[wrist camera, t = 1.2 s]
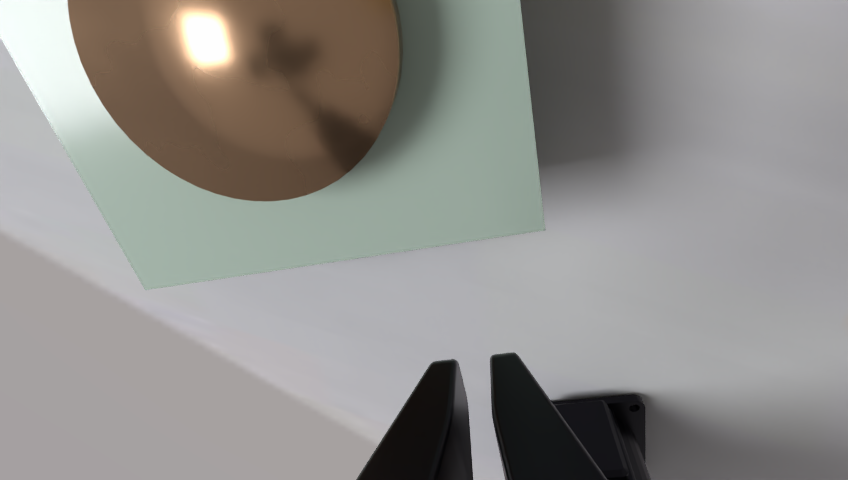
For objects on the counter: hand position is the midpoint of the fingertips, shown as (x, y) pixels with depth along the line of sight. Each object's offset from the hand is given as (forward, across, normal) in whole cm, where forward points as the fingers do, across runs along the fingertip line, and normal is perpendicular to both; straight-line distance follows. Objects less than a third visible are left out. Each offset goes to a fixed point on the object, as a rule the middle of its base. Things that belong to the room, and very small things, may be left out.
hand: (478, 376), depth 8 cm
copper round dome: (+12, +5, -5) cm, 14 cm away
